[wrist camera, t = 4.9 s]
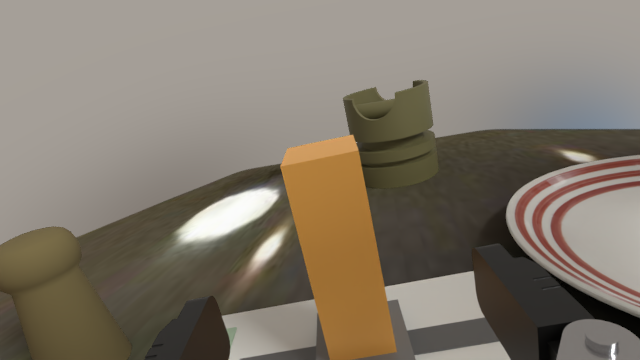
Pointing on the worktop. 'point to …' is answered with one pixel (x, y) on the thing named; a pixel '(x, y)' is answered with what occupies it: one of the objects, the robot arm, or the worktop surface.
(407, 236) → the worktop surface
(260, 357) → the box
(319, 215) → the handle
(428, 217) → the worktop surface
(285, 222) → the worktop surface
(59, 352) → the olive pawn figure
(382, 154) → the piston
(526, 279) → the robot arm
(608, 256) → the dinner plate
